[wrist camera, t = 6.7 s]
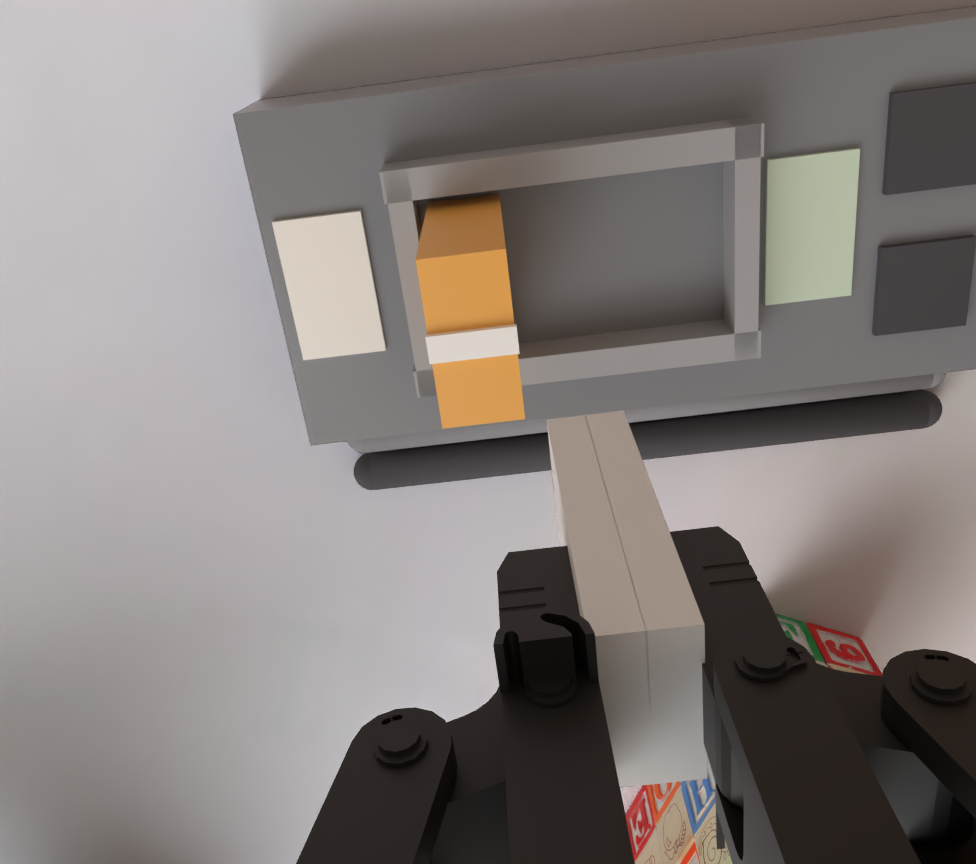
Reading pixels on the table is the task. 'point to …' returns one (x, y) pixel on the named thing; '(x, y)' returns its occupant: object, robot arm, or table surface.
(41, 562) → the table surface
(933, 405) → the grey ledge with rod
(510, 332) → the breaker lever
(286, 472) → the table surface
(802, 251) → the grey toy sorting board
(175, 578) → the table surface
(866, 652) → the stack of blocks
